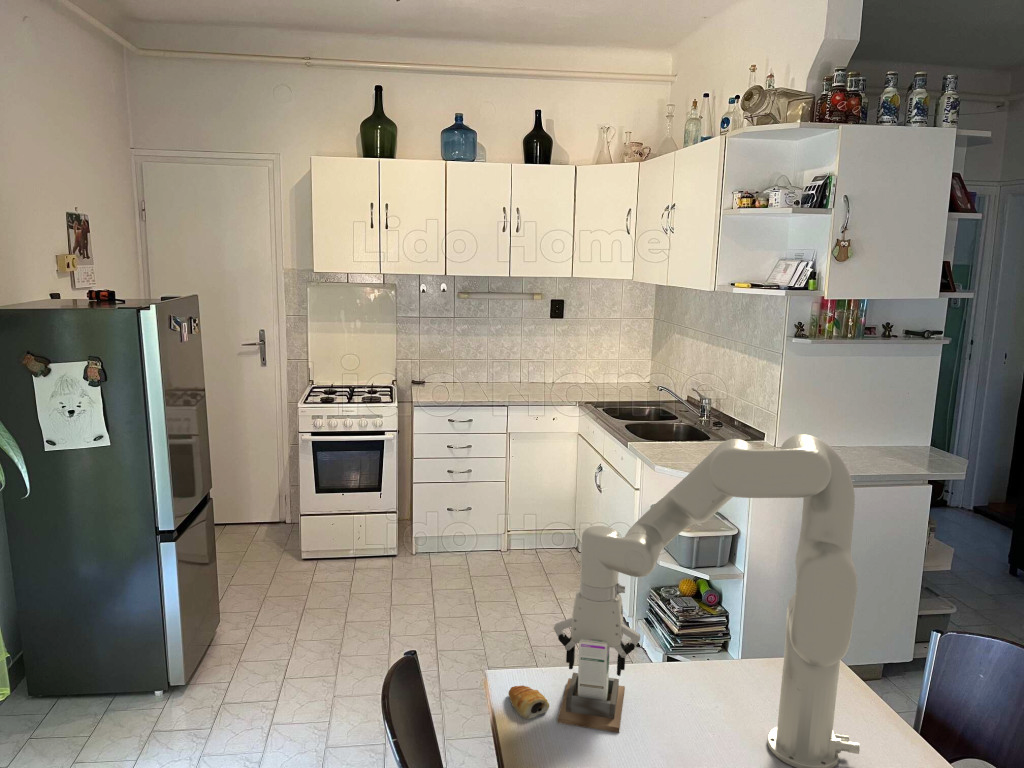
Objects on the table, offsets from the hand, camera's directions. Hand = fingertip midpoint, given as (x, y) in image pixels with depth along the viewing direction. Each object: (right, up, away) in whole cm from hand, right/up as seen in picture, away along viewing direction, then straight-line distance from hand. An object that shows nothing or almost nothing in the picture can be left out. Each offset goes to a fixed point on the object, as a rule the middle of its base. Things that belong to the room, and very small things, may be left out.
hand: (595, 669), depth 152 cm
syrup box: (0, -7, +1) cm, 7 cm away
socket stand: (0, -8, +1) cm, 8 cm away
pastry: (-14, -8, +1) cm, 16 cm away
